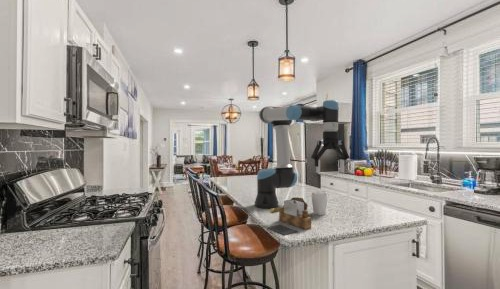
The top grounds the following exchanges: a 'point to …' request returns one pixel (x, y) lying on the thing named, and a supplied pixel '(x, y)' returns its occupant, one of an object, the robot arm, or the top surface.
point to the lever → (276, 210)
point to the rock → (300, 201)
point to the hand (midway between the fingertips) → (330, 172)
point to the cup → (319, 202)
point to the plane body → (296, 219)
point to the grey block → (293, 207)
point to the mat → (282, 229)
